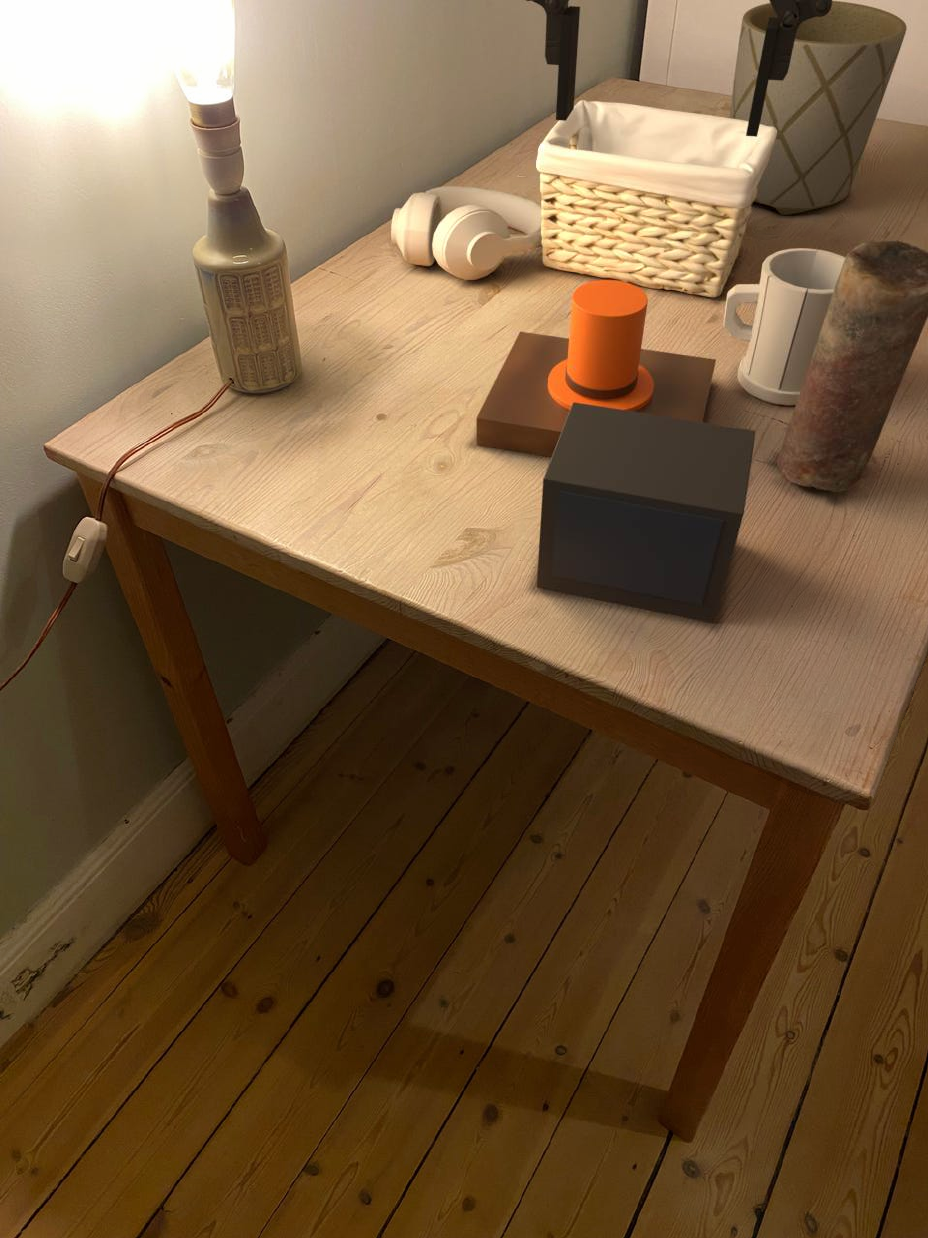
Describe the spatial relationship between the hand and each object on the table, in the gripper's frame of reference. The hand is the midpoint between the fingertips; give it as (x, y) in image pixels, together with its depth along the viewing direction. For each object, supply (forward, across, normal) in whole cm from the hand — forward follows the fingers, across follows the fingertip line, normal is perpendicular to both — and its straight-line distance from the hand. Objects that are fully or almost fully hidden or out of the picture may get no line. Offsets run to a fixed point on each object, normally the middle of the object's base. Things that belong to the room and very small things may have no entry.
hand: (656, 122), depth 66 cm
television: (+28, -4, +16) cm, 33 cm away
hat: (+25, +3, -4) cm, 25 cm away
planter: (+27, -11, -63) cm, 69 cm away
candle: (+28, -18, 0) cm, 34 cm away
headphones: (+27, +25, -34) cm, 50 cm away
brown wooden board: (+28, +3, -4) cm, 28 cm away
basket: (+28, +4, -37) cm, 46 cm away
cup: (+28, -13, -14) cm, 34 cm away
